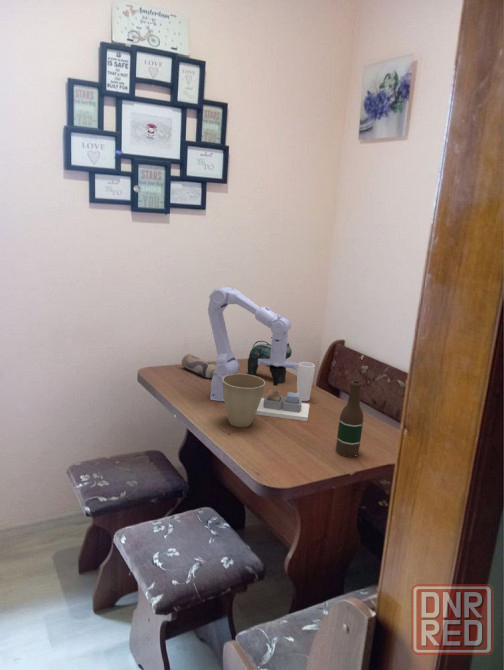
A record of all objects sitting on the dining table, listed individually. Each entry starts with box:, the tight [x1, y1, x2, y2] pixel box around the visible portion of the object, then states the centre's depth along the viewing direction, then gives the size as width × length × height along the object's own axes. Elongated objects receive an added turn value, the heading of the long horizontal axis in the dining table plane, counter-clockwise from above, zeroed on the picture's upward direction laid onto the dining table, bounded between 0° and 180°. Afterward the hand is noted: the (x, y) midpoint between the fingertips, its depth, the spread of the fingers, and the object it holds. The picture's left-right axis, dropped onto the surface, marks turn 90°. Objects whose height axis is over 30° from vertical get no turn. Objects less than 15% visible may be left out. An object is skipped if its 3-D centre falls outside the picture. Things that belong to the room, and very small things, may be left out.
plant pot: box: [222, 373, 266, 428], centre depth 188 cm, size 15×15×16 cm
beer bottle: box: [335, 380, 364, 457], centre depth 171 cm, size 8×8×24 cm
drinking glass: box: [296, 361, 316, 402], centre depth 216 cm, size 7×7×15 cm
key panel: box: [255, 393, 310, 422], centre depth 204 cm, size 20×14×4 cm
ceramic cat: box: [247, 336, 293, 385], centre depth 237 cm, size 20×6×20 cm, turn 58°
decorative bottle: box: [181, 353, 217, 379], centre depth 237 cm, size 26×8×7 cm, turn 44°
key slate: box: [286, 391, 299, 404], centre depth 202 cm, size 4×4×2 cm
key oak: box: [267, 389, 282, 401], centre depth 203 cm, size 4×4×2 cm
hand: (275, 384), depth 202 cm, fingers closed
